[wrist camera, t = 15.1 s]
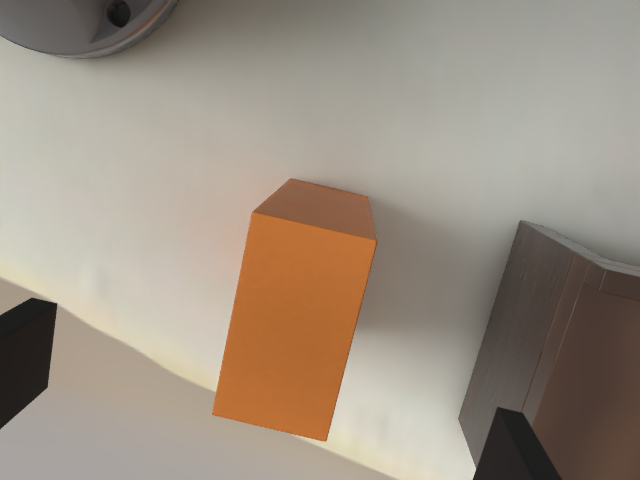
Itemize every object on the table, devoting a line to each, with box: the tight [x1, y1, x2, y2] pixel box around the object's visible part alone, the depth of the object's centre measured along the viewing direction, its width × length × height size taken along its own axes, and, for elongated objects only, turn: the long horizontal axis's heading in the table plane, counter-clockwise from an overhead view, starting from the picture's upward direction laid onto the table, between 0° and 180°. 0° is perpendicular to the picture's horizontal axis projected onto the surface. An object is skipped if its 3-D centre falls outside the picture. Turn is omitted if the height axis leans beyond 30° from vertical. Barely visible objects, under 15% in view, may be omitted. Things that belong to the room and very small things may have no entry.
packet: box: [212, 179, 377, 441], centre depth 28 cm, size 5×9×13 cm, turn 167°
